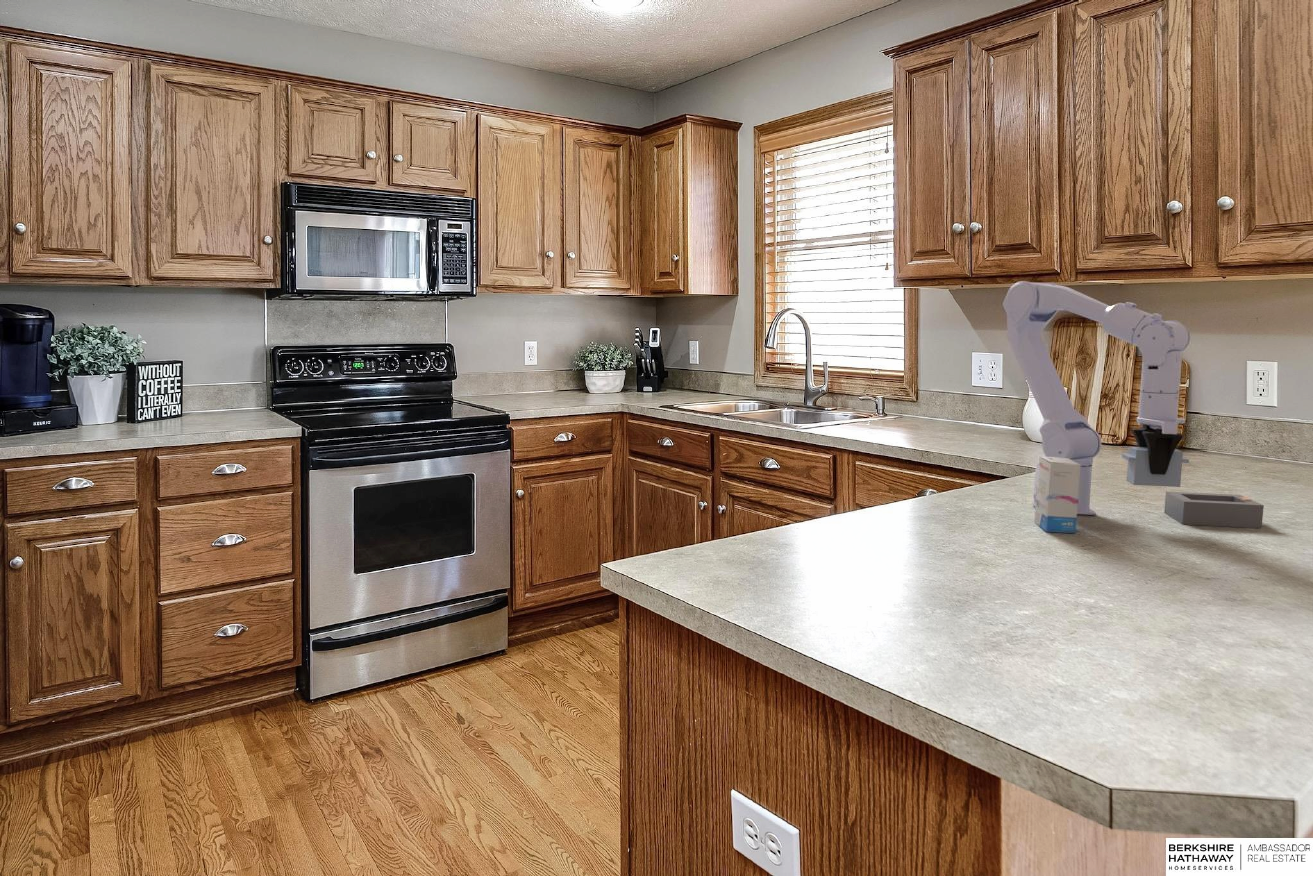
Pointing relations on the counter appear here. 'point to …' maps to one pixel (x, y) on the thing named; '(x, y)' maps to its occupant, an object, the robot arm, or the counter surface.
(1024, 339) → the robot arm
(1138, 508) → the counter surface
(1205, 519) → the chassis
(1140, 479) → the servo
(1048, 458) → the ink box
